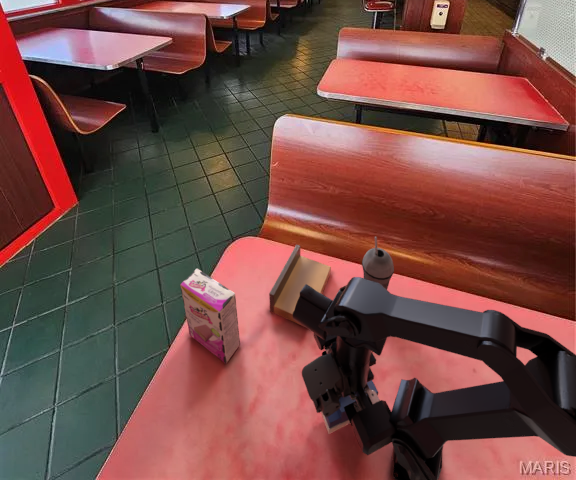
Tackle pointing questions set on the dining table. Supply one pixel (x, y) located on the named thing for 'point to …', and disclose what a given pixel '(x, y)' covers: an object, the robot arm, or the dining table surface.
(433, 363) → the dining table surface
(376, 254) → the beverage cup
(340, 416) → the navy stepped block
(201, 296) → the candy bar box
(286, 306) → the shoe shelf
